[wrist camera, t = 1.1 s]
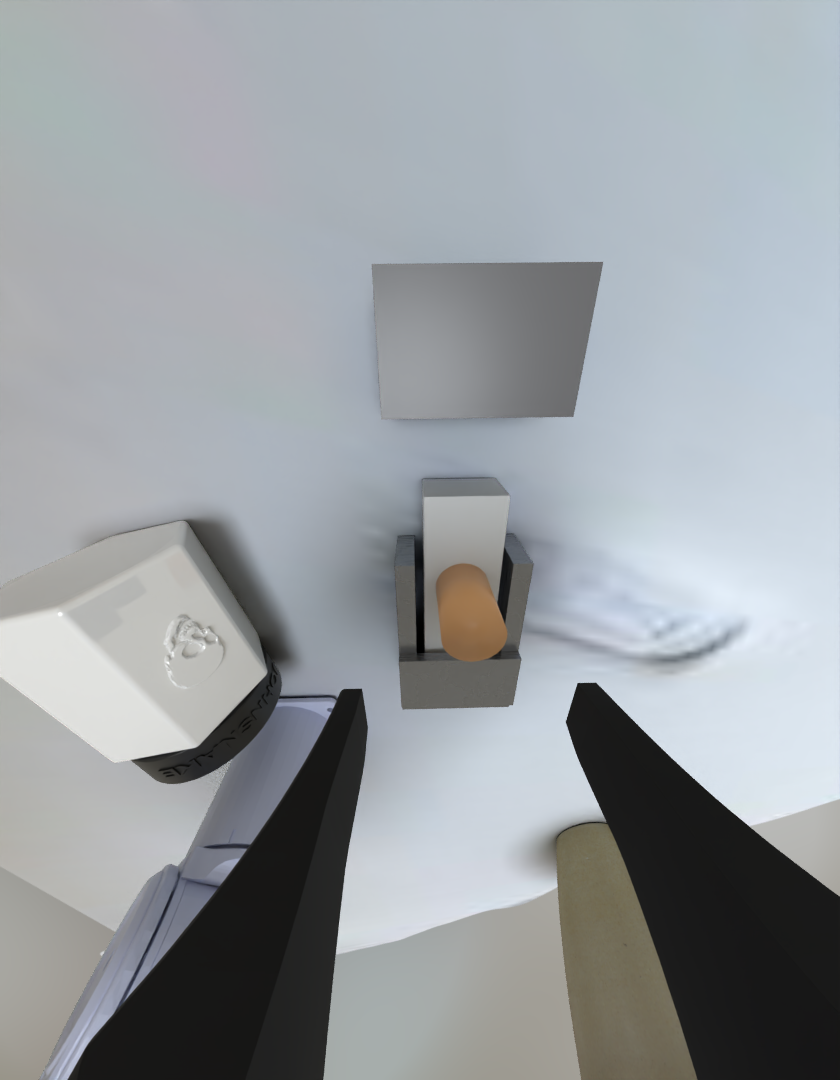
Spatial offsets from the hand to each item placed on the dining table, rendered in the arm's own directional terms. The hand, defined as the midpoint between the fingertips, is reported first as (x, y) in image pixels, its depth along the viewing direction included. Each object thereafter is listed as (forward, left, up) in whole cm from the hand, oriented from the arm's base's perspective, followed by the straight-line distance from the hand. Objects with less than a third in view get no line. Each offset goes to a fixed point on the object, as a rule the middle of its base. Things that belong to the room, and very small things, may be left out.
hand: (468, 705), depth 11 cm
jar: (+3, +17, -6) cm, 18 cm away
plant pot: (-38, -18, -10) cm, 44 cm away
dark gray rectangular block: (+12, -1, -10) cm, 15 cm away
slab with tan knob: (-1, -1, -10) cm, 10 cm away
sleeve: (-3, -1, -10) cm, 11 cm away
